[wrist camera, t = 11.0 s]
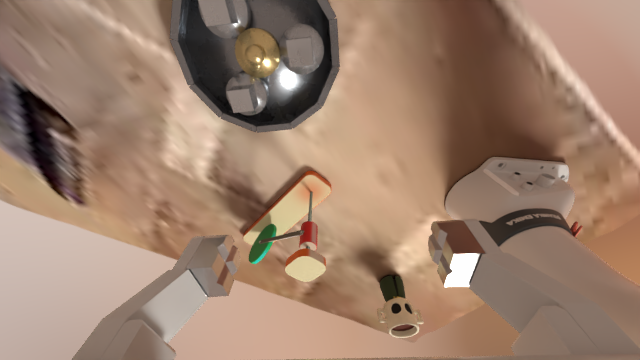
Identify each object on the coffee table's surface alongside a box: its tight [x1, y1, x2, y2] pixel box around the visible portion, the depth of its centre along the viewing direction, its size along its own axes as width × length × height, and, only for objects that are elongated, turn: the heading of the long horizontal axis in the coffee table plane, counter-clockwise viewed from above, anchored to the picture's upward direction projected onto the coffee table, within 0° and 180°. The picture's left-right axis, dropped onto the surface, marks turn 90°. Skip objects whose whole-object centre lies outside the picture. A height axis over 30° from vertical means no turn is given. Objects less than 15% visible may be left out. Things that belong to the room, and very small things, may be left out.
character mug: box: [377, 276, 423, 338], centre depth 60 cm, size 11×7×13 cm, turn 87°
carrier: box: [170, 0, 340, 133], centre depth 32 cm, size 22×22×6 cm
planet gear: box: [279, 24, 324, 75], centre depth 31 cm, size 6×6×5 cm
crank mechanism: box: [243, 171, 331, 282], centre depth 44 cm, size 25×7×19 cm, turn 138°
